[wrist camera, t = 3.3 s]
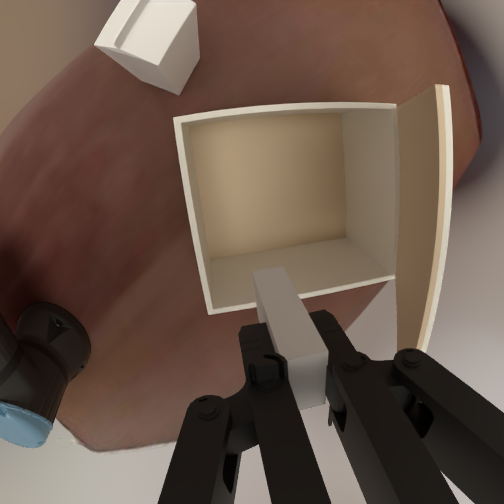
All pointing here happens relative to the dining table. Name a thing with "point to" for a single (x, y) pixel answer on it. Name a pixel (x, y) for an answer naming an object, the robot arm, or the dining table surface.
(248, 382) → the robot arm
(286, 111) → the carton
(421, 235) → the flap
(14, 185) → the dining table surface
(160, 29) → the milk
